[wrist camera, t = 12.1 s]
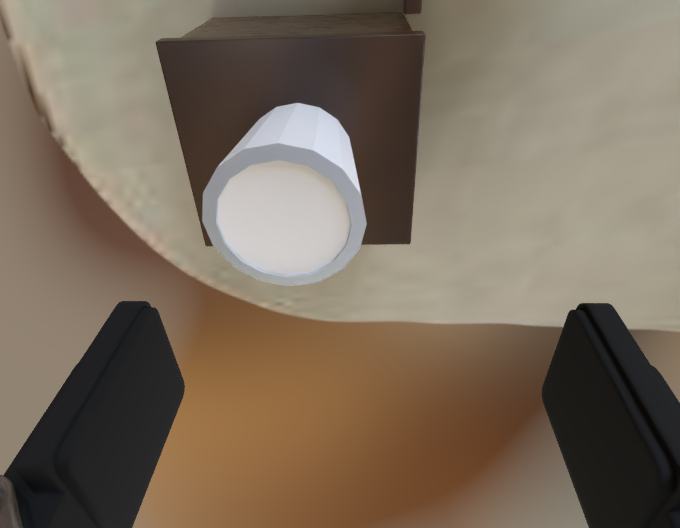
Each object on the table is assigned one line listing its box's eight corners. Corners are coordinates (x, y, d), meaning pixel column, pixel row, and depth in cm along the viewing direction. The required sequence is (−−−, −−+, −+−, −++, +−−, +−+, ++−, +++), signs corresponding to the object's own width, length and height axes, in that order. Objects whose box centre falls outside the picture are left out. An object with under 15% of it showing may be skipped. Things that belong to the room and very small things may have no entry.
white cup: (366, 90, 22) (370, 145, 17) (362, 212, 27) (363, 289, 21) (227, 89, 23) (184, 142, 17) (244, 210, 27) (214, 286, 21)
